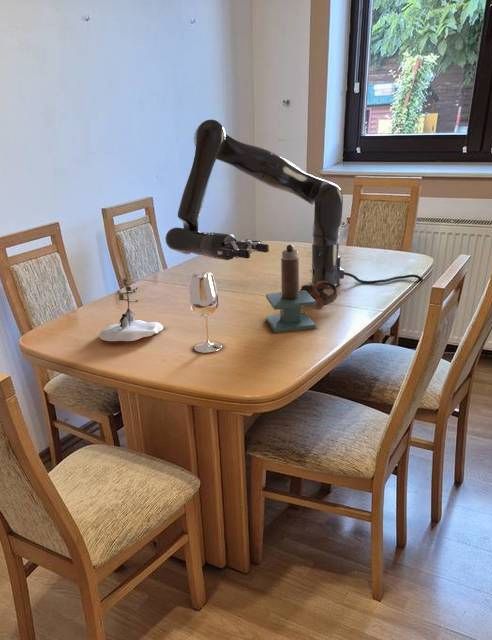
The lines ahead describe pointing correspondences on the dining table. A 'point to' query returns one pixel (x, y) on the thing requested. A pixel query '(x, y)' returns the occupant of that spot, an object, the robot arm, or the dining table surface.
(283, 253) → the pepper mill
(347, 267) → the dining table surface
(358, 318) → the dining table surface
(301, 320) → the stand
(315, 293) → the brown clay hollow piece
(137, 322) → the figurine
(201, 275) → the wineglass
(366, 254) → the dining table surface
